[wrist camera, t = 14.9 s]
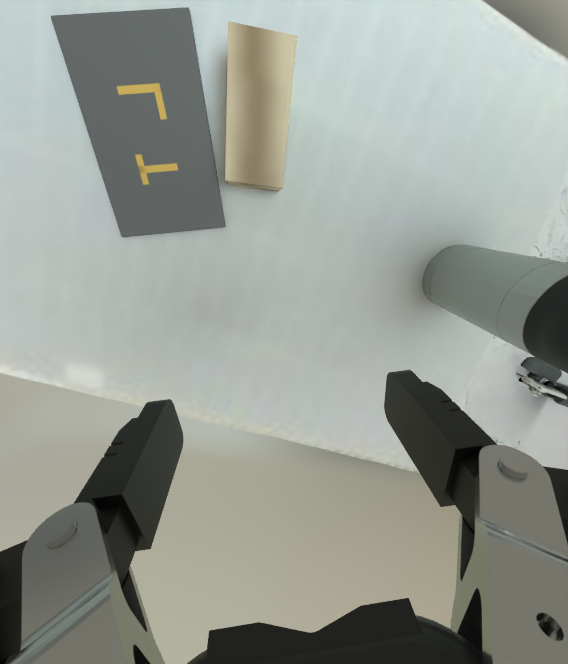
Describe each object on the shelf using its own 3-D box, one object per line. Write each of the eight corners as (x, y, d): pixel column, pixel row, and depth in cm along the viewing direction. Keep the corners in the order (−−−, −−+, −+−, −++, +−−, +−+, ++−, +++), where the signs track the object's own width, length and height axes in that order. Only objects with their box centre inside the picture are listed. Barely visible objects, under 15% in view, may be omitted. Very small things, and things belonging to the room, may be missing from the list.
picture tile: (189, 11, 27) (188, 7, 26) (225, 226, 35) (225, 227, 35) (54, 19, 26) (50, 15, 26) (124, 236, 34) (121, 237, 34)
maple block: (289, 68, 29) (297, 35, 24) (278, 191, 34) (282, 188, 29) (233, 57, 29) (228, 21, 23) (230, 185, 33) (225, 180, 28)
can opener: (503, 378, 50) (528, 395, 46) (529, 350, 48) (557, 365, 44) (568, 407, 55) (596, 425, 51) (594, 383, 53) (625, 400, 48)
